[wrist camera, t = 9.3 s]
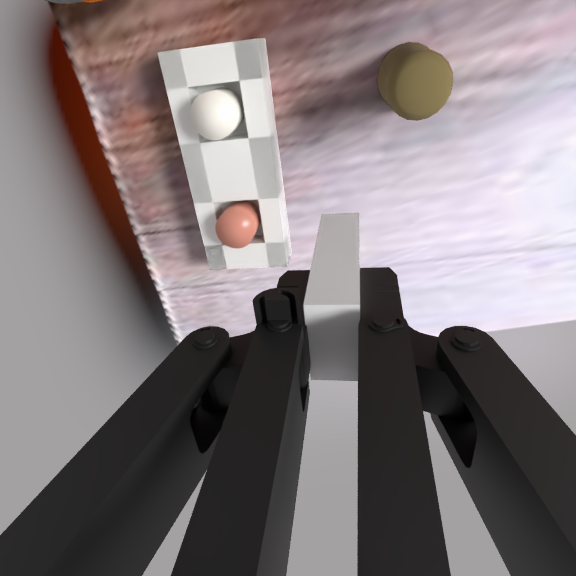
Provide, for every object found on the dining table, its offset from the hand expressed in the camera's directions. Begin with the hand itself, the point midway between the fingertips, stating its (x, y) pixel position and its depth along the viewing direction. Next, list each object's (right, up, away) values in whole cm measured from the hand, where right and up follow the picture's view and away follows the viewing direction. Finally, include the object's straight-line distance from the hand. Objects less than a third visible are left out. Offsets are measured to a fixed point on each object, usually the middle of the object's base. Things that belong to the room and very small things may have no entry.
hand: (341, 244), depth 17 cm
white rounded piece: (-9, +17, +27) cm, 33 cm away
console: (-8, +13, +31) cm, 35 cm away
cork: (+10, +20, +24) cm, 33 cm away
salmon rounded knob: (-8, +7, +33) cm, 34 cm away
